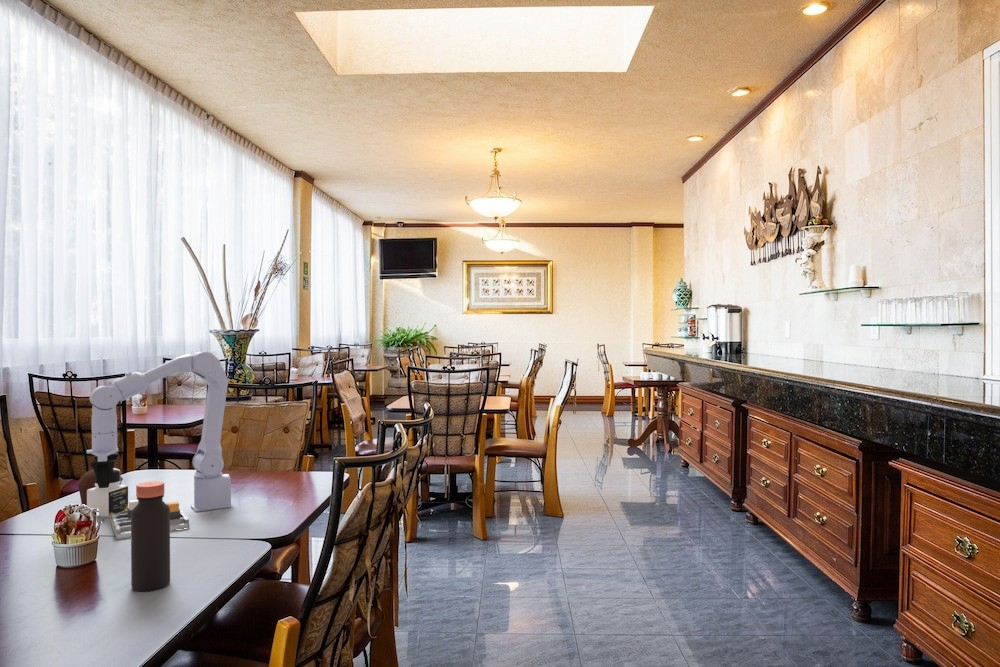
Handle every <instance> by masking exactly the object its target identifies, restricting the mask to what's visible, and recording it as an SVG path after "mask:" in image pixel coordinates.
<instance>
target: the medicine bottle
mask: <svg viewBox="0 0 1000 667" xmlns="http://www.w3.org/2000/svg"><path fill="white" fill-rule="evenodd" d="M120 476H121V470H120V469H118V468H115V467H114V468H113V474H112V479H111V481H110V484H109V487H108V488H99V487H98V483H97V478H96V474H95V486H96V487H95V488H92V489H88V490H87V506H88V507H90V508H98V509H99V515H98V516H97V517H99V518H100V517H101V518H111V514H114V513H115V515H116V514H117V515H118V514H123V513H124V511H125V512H127V508H129V485H127V484H121V485H119V484H120Z"/></svg>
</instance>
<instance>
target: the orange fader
mask: <svg viewBox="0 0 1000 667" xmlns="http://www.w3.org/2000/svg"><path fill="white" fill-rule="evenodd" d="M166 504H167V505H168V506H169V508H170V519H177V518H181V515H180V510H179V507H180V503H179V501H173V502H172V501H171V502H167V503H166Z"/></svg>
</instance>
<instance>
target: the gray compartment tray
mask: <svg viewBox="0 0 1000 667" xmlns="http://www.w3.org/2000/svg"><path fill="white" fill-rule="evenodd" d="M179 510H180V515H181V518H177V519H170V532H172V531H171V530H176V529H183V530H185V529H184V528H189V529H190V519H189V517H188V516H187V515H186V513H185V512H184V511H183V509H182V508H181V507H180V506H179ZM110 524H111V526H112V528H113V529H112V530H113V532H115V533H114V535H115V538H116V540H123V538H124V539H131V538H130V537H131V517H128V518H127V512H126V513H119V514H117V515H115V513H114V514H111V517H110ZM176 531H177V530H176Z"/></svg>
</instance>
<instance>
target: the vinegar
mask: <svg viewBox="0 0 1000 667" xmlns="http://www.w3.org/2000/svg"><path fill="white" fill-rule="evenodd" d="M135 486H136V488H135V489H136V491H135V492H136V500H138V504H137V506H136V507H135V508H134V509H133V510H132V511H131V538H130V543H131V544H130V546H131V547H130V552H131V553H130V557H131V558H130V559H131V560H130V562H131V564H130V567H131V568H130V569H131V572H130V575H131V578H130V580H131V589H132V590H134V591H135V592H151V591H152V592H153V591H156V590H160V589H163V588H165V587H166V586H168V585H169V584H170V583H171V531H170V508H169V506H168V505H167V503H166V502H165V501H163V499H164V497H165V482H164V481H160V480H159V481H156V480H155V481H146V482H140V483H138V484H136V485H135Z"/></svg>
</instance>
